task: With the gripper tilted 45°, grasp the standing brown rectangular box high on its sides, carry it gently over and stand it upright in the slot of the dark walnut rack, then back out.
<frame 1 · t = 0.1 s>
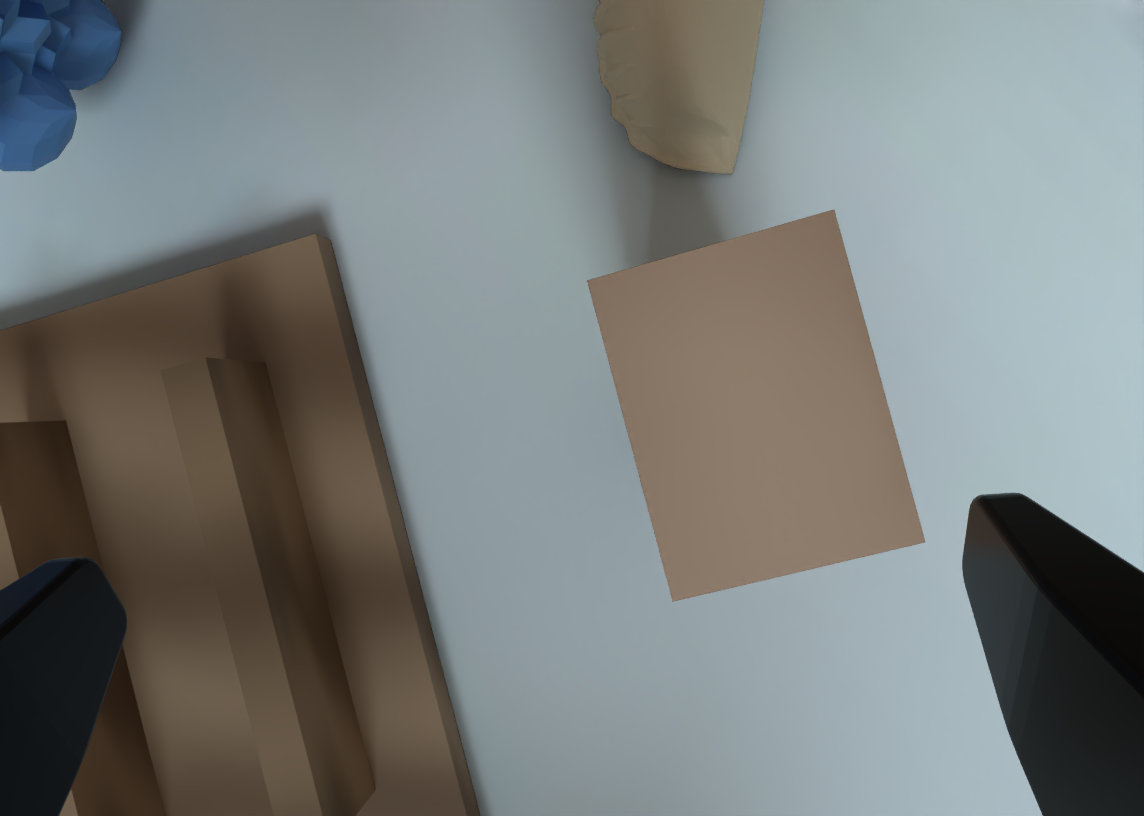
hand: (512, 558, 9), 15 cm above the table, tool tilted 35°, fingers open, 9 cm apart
brown rectangular box: (714, 402, 23), on the table
walnut rack: (217, 597, 25), on the table
decorative ornament: (689, 24, 23), on the table
grapes: (136, 47, 25), on the table
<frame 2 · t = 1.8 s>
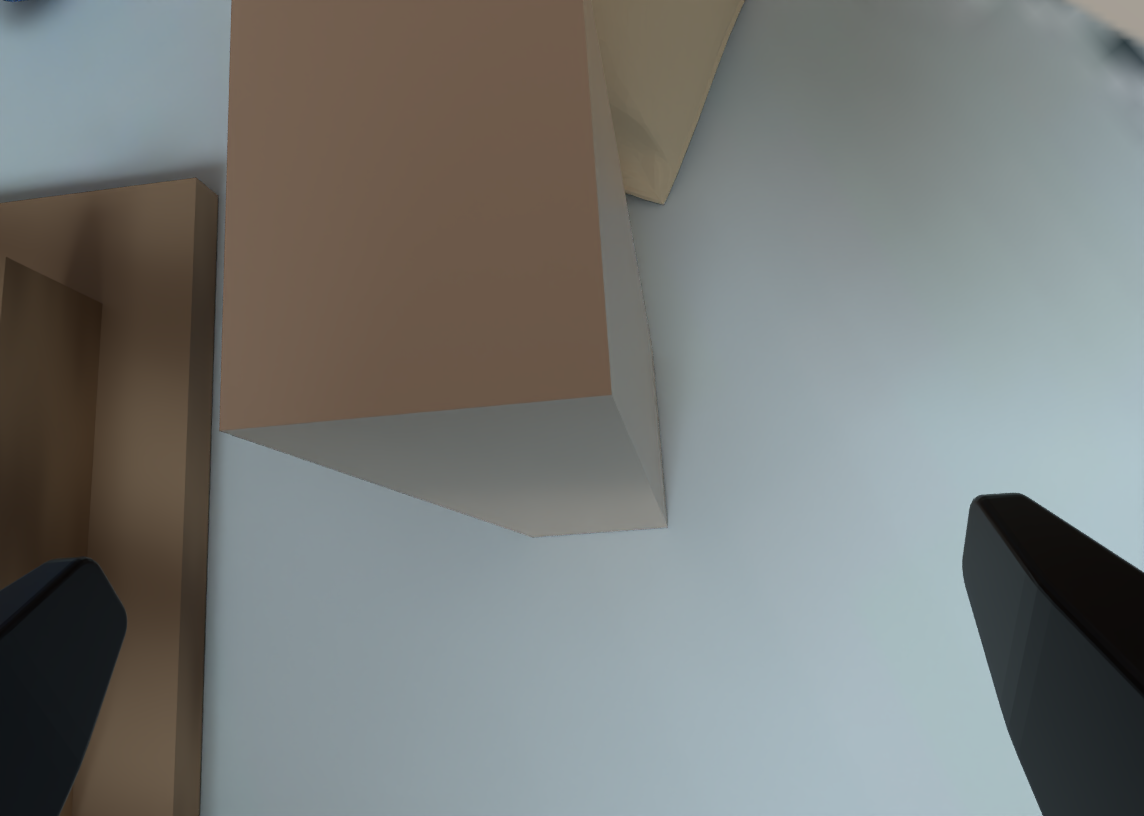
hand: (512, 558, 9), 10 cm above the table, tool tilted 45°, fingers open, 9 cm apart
brown rectangular box: (593, 443, 19), on the table
decorative ornament: (651, 50, 22), on the table
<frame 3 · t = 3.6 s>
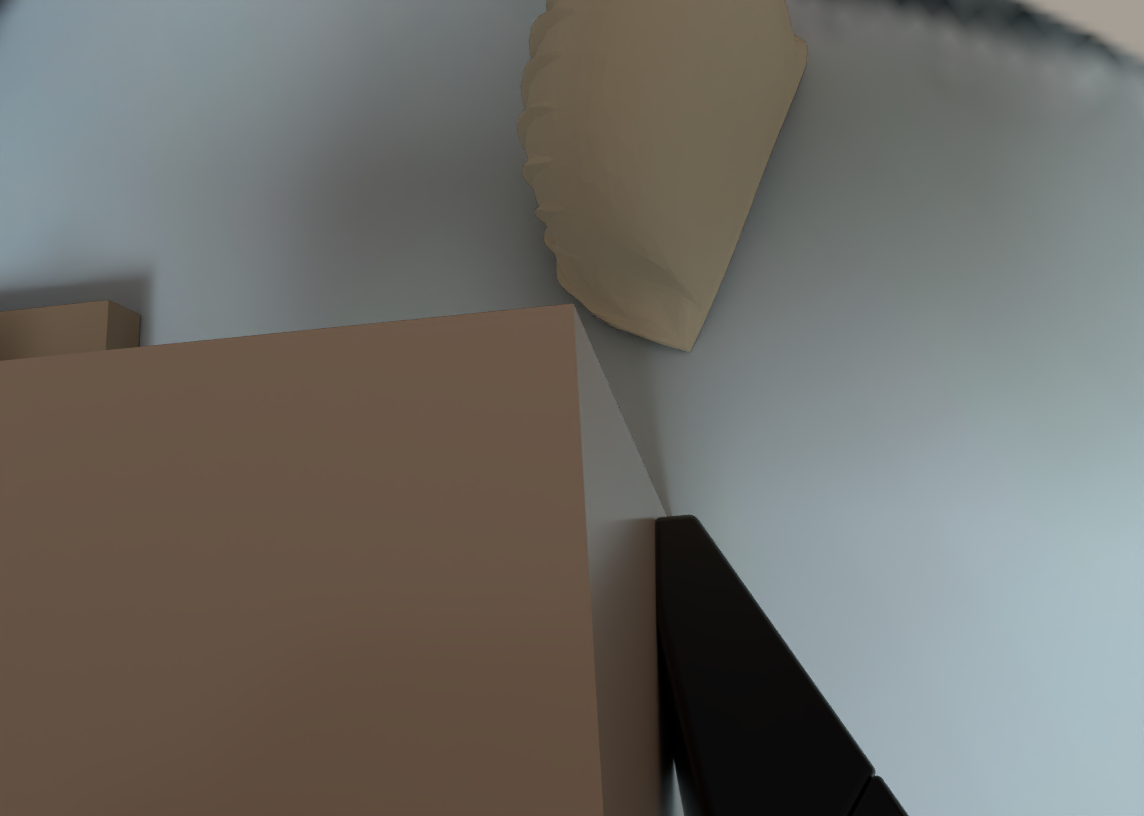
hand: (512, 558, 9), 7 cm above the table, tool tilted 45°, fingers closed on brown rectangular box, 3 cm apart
brown rectangular box: (598, 650, 15), on the table, touching gripper
decorative ornament: (677, 150, 17), on the table
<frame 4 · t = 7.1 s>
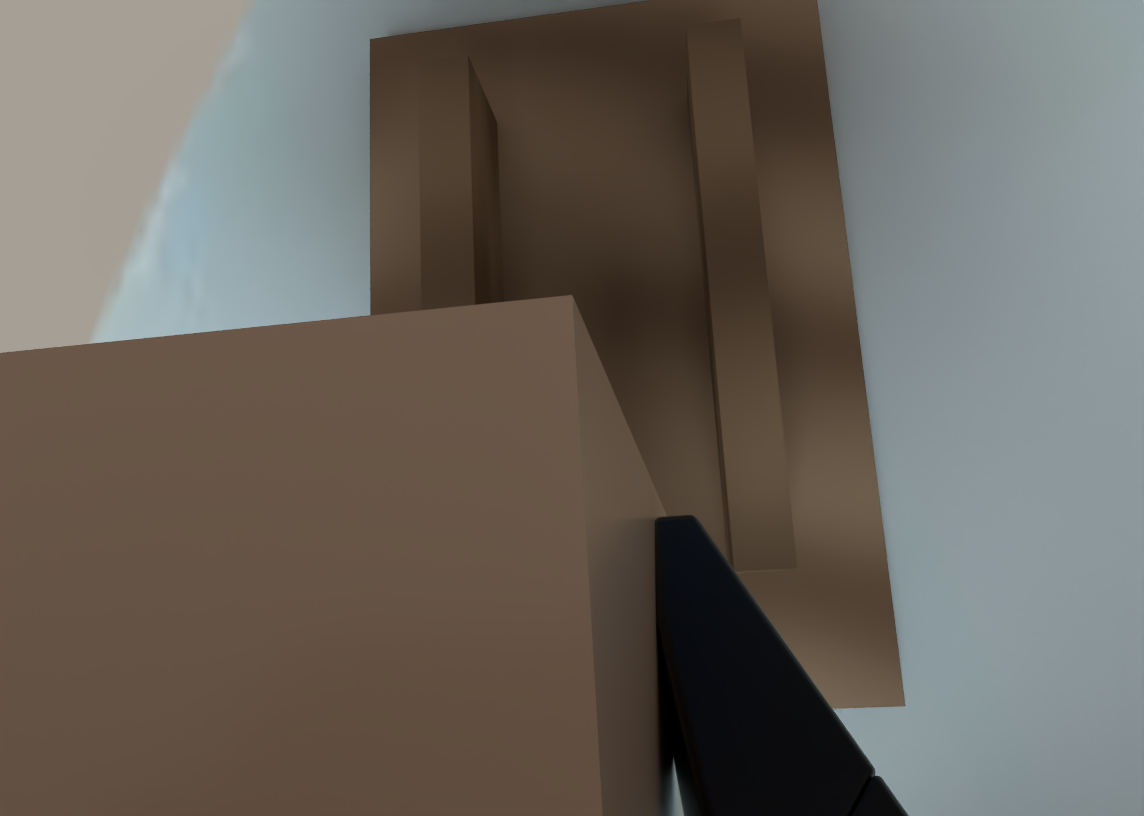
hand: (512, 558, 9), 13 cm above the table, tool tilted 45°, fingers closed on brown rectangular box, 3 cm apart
brown rectangular box: (598, 650, 15), point 5 cm above the table, touching gripper
walnut rack: (608, 342, 22), on the table
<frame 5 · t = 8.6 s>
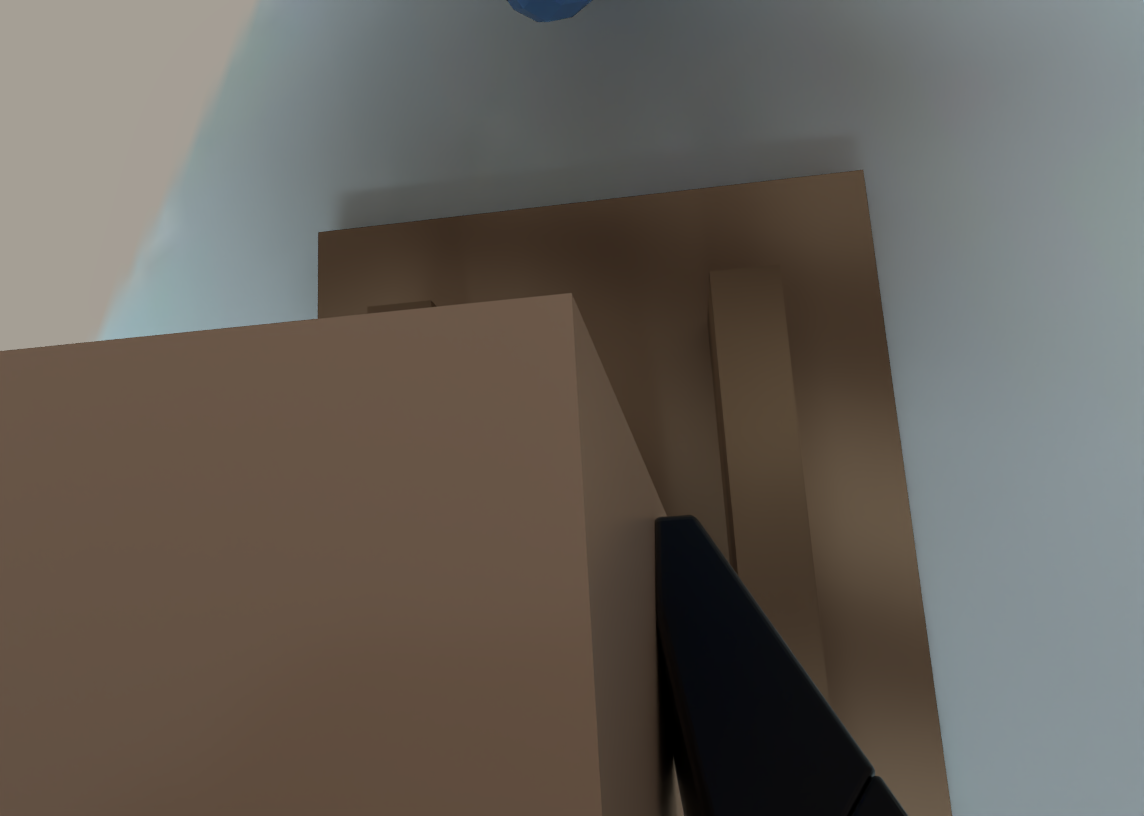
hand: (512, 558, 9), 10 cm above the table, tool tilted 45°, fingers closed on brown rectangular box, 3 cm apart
brown rectangular box: (598, 650, 15), point 3 cm above the table, touching gripper
walnut rack: (611, 624, 18), on the table
when the fingers open (9 cm above the table, at t = 9.0 s): brown rectangular box drops 1 cm, resting on walnut rack.
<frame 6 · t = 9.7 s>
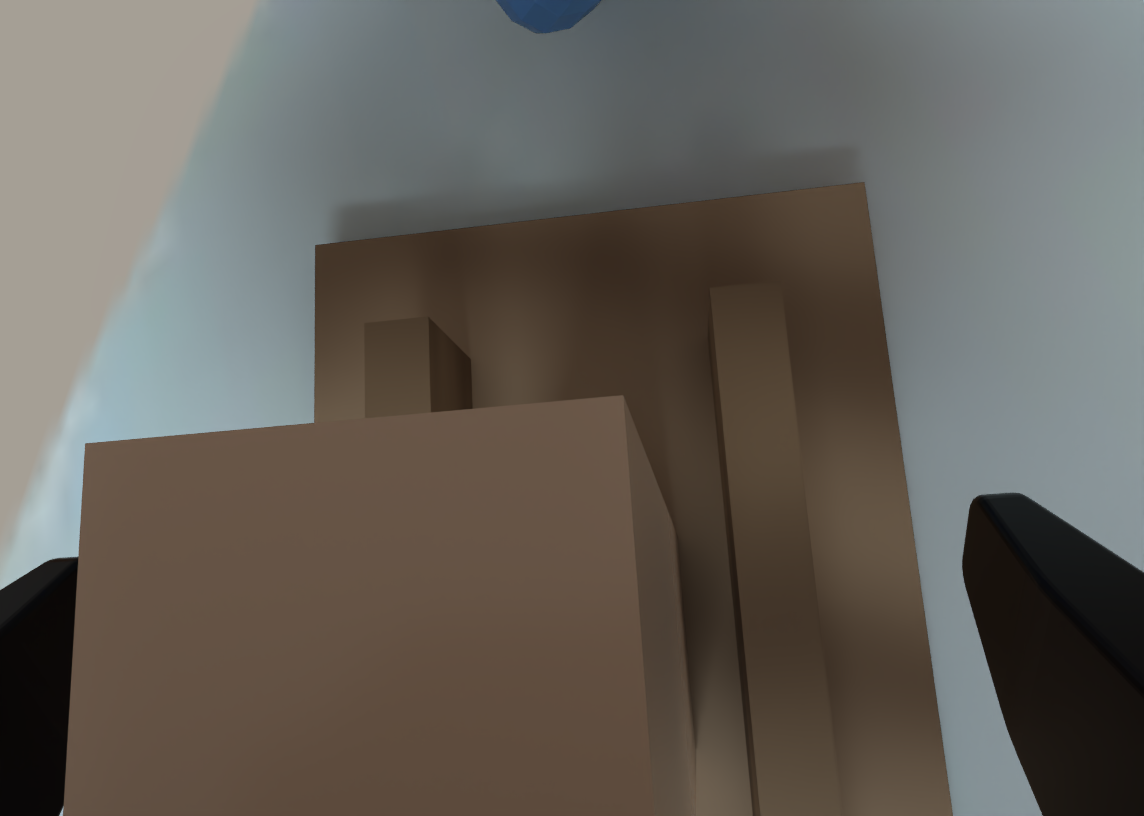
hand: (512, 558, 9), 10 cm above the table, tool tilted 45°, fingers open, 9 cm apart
brown rectangular box: (609, 645, 17), point 1 cm above the table, touching walnut rack
walnut rack: (611, 641, 18), on the table
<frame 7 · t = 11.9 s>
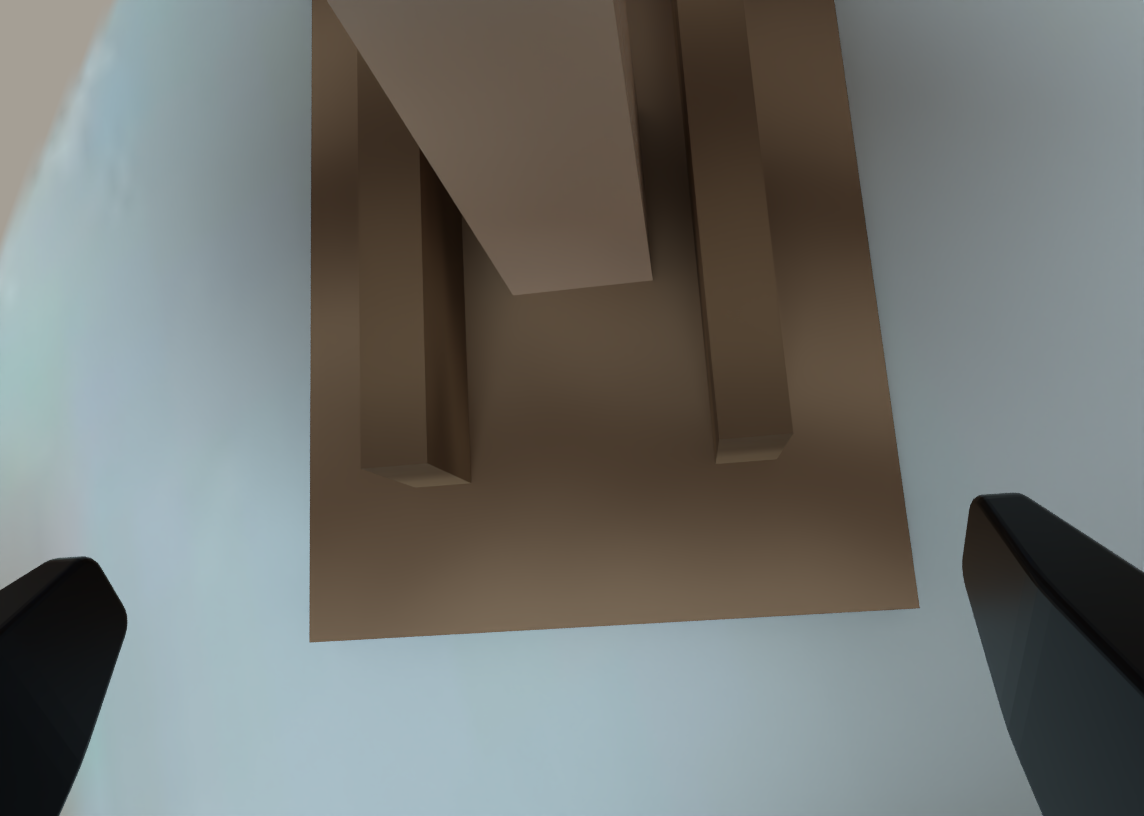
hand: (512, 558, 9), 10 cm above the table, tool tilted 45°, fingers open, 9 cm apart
brown rectangular box: (576, 200, 19), point 1 cm above the table, touching walnut rack
walnut rack: (579, 219, 20), on the table
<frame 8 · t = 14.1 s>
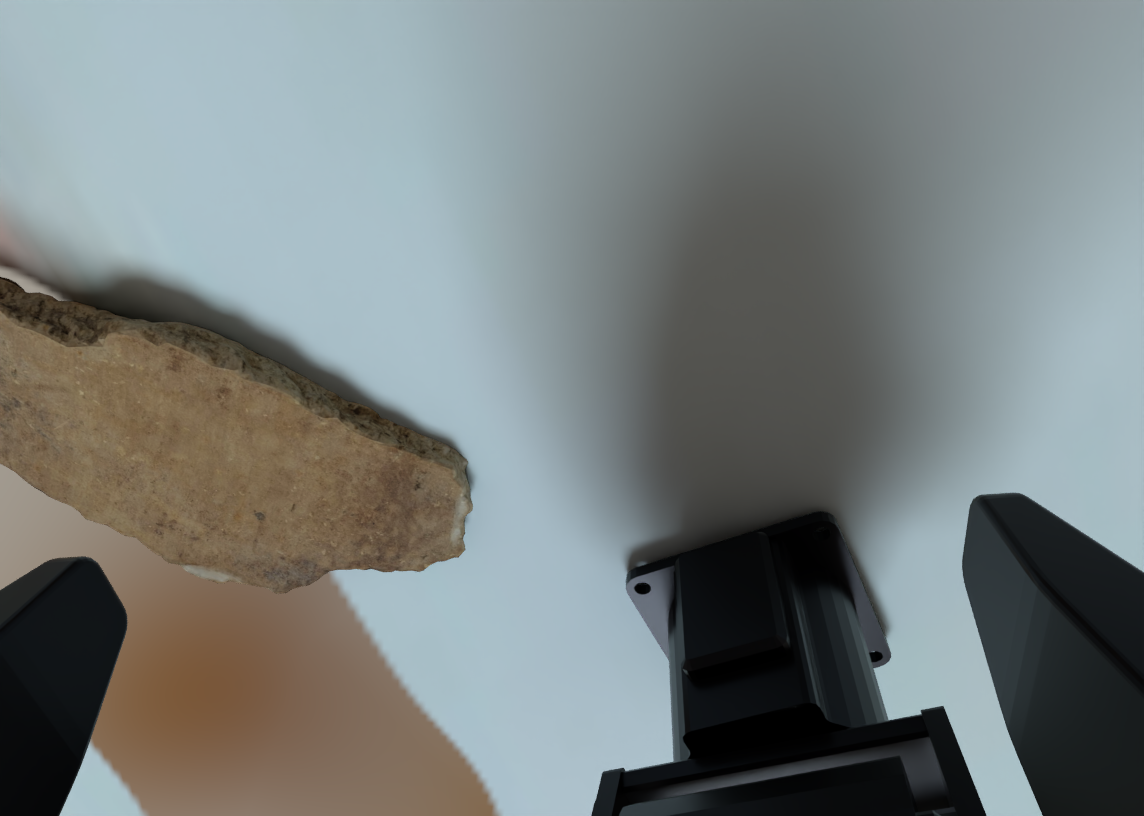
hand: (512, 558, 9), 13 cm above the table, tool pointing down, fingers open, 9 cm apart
pottery shard: (227, 433, 25), on the table
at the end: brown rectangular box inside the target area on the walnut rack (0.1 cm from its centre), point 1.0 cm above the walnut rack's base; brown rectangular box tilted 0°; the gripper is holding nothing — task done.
